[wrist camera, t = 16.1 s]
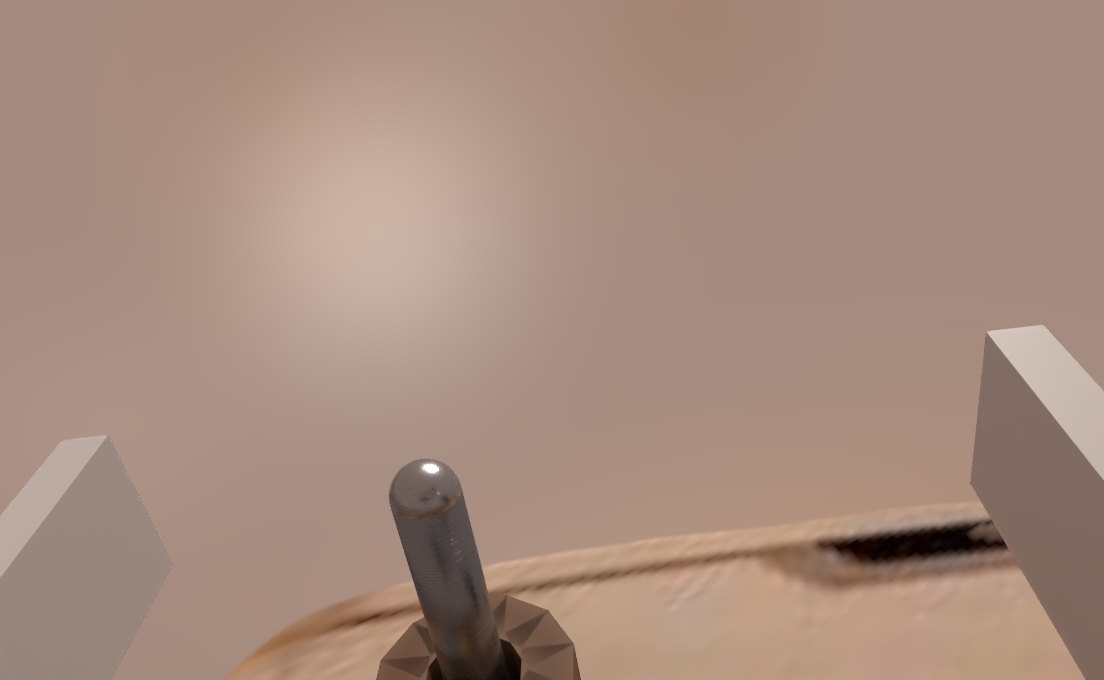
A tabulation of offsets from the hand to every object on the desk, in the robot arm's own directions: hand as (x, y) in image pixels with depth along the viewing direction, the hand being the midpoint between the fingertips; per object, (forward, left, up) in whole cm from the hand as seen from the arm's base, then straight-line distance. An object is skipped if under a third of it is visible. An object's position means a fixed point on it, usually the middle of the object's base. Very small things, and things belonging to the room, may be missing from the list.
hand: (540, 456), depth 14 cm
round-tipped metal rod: (+8, -18, -32) cm, 37 cm away
